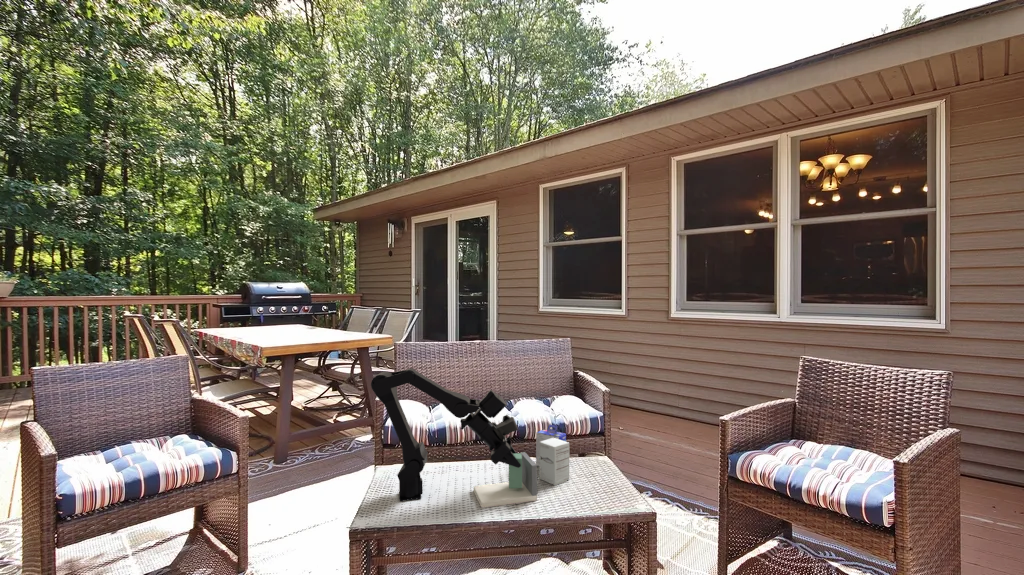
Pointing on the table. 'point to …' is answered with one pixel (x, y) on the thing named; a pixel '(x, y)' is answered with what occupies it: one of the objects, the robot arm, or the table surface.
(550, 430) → the ink cartridge box
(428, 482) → the table surface
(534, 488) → the shelf board
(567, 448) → the supplement box
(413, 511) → the table surface
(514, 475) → the mint green square pillar
